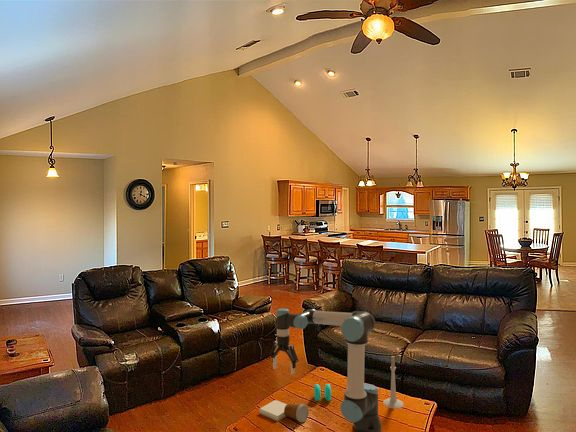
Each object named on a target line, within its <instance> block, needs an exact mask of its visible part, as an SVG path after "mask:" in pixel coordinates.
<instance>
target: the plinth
mask: <svg viewBox="0 0 576 432" xmlns="http://www.w3.org/2000/svg"><path fill="white" fill-rule="evenodd" d="M286 405H287V403H284V402H282V401H279V400H277V399H275V400H272V401H271V402H269V403H267V404H266V405H264V406H262V407H260V408H259V414H260V415H262V416H264V417H267V418H269V419H271V420H274V421H277V422H279V421H281V420H282V419H284V418H285V417H287V416H286V415H285V414H284V409H285V406H286Z"/></svg>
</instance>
